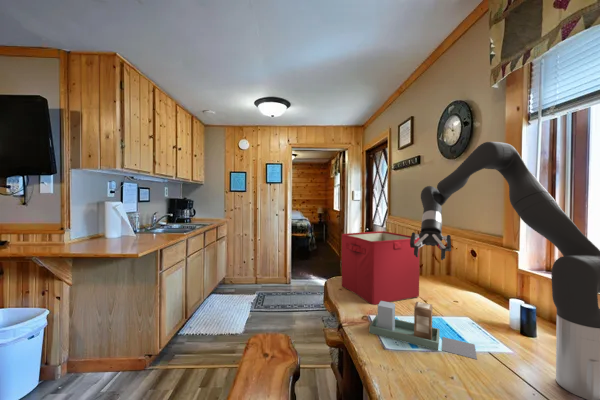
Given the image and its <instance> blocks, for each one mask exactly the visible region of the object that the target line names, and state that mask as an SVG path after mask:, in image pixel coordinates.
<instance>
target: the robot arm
mask: <svg viewBox="0 0 600 400" xmlns="http://www.w3.org/2000/svg"><path fill="white" fill-rule="evenodd" d="M484 169H487V170H496V171H497V172H499V173H500V174H501V176H502V177H503V178H504V180H505V181H506V182H507V185H508V190H509V191H508V194H509V195H508V197H509V202H510V205H511V206H512V208H513V210H514V211H515V212H516V214H517V215H518V217H519V218H520V219H521V221H522V222H524V224H525V225H527V226H528V227H529V228H531V229H532V230H534V232H536V233H538V234H539V235H541V236H542V237H543V238H545V239H546V240H548V241H549V242H550V243H552V244H553V245H554V246H555V247H556V248H557V250H559V252H560V253H561V255H562V256H561V257H558V258H556V259H555V260H554V262H553V264H552V267H551V276H550V277H551V292H552V293H551V295H552V301H553V303H554V306H555V308H556V332H555V333H556V336H555V338H556V339H555V341H556V343H555V344H556V345H555V349H556V350H555V381H556V382H557V384H558V385H559V386H560V387H561V388H563V389H564V390H566V391H567V392H568V393H571V394H573V395H576V396H577V397H580V398H582V399H585V400H600V307H599V297H598V294H600V249H599V248H598V247H597V246H596V245H595V243H593V242H592V241H591V240H590V239H589V238H588V237H587V236H586V235H585V234H584V233H583V232H582V231H581V230H580V228H578V225H576V224H575V223H574V222H573V220H572V219H571V218H570V216H568V214H567V213H565V211H564V210H563V209H562V207H561V206H560V205H559V203H558V202H557V201H556V200H555V198H554V197H553V196H552V195H551V193H550V192H549V191H547V189H546V188H545V187H544V185H542V183H540V180H538V178H537V177H536V176H535V175H534V174H533V173H532V171H530V169H529V168H528V167H527V165H526V163H525V161H524V160H523V159H522V157H521V155H520V153H519V152H518V150H517V149H516V148H515V147H514V146H513V145H511V144H510V143H506V142H501V141H500V142H499V141H485V142H483V143H481V144H479V145H478V146H477V147H476V148H475V149H474V150H473V151H472V152H471V153H470V154H469V155H468V156H467V157H466V158H465V159H464V160H463V162H461V164H460V165H459V166H458V167H456V169H454V171H452V172H451V173H450V174H448V175H447V176H445V178H443V179H442V180H440V181H439V182H438V183H437V184H436V187H434V186H432V185H427V186H425V187H424V188H422V190H421V191H420V201H421V205H422V208H423V213H422V218H421V224H420V233H419V234H418V233H416V232H414V231H412V233H411V235H410V236H411V239H410V247H411V248H414V255H415V256H416V257H418V251H419V252H420V248H422V247H423V246H432V247H435V246H436V247H437V248H438V249H439V250H440V260H441V261H443V260H445V259H446V252H451V251H452V241H451V239H452V237H451V236H452V235H450V234H447V235H443V231H442V229H443V218H442V217H443V216H442V213H443V209H442V206H443V205H444V204H445V203H446V202H447V201H448V199H449V198H450V197H451V196H452V195H453V194H454V193H456V192H458V191H460V190H462V188H464V187H465V186H466V184H467V183H468V180H469V178H470V177H471V176H472V175H473V174H475V173H477V172H479V171H481V170H484ZM417 238H419V240H418V242H417V243H414V242H415V240H416V239H417ZM442 241H444V242H445V243H446V246H445V245H444V243H443V242H442Z"/></svg>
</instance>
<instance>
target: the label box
mask: <svg viewBox="0 0 600 400" xmlns="http://www.w3.org/2000/svg"><path fill="white" fill-rule="evenodd" d="M413 308H414V310H413V313H414V314H413V315H414V317H413V321H414V322H413V323H414V336H416V337H420V338H424V339H428V340H432V327H433V304H432V303H425V302H420V301H416V302H415V304H414V307H413Z"/></svg>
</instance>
